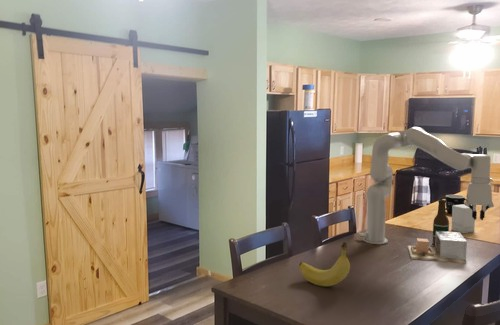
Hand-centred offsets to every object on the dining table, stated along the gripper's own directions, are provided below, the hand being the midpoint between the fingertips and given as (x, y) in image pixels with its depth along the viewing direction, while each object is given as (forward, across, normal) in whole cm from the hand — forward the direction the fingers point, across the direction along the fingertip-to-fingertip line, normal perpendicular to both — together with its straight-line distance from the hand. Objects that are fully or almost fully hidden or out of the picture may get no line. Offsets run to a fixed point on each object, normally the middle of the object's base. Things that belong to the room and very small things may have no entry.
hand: (478, 218), depth 197 cm
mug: (+19, -8, -100) cm, 102 cm away
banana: (+19, +67, +52) cm, 87 cm away
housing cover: (+18, +12, 0) cm, 21 cm away
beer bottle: (+19, +13, -19) cm, 30 cm away
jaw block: (+18, +24, 0) cm, 30 cm away
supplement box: (+19, -4, -51) cm, 55 cm away
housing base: (+19, +18, 0) cm, 26 cm away
